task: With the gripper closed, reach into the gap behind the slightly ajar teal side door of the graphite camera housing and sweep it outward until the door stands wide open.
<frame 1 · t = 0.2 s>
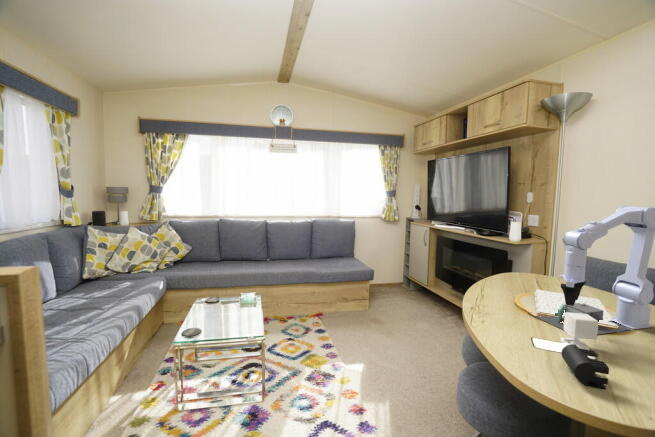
hand: (571, 302, 110), 10 cm above the table, tool pointing down, fingers open, 7 cm apart
smartphone: (561, 349, 97), on the table
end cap: (582, 377, 83), on the table
security camera: (576, 346, 99), on the table
mat: (576, 321, 116), on the table
side door: (559, 312, 118), point 3 cm above the table, hinge at 60.0°
housing: (582, 320, 117), resting on mat
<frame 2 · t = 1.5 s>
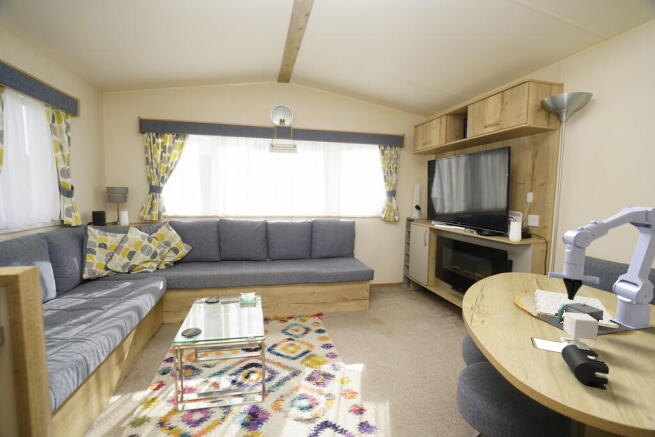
hand: (570, 299, 113), 10 cm above the table, tool pointing down, fingers closed
nothing on the table moved.
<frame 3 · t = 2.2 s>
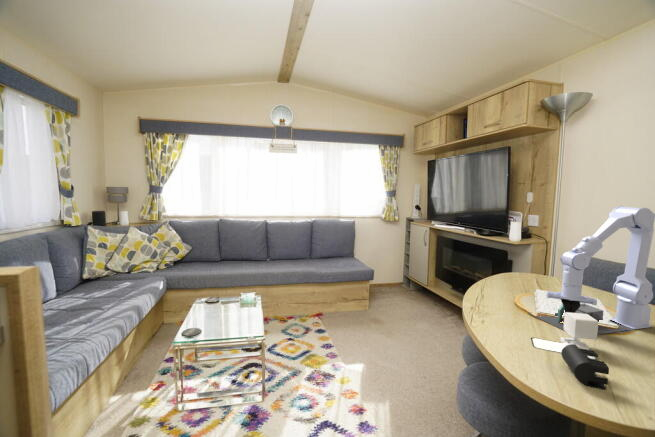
hand: (568, 319, 114), 2 cm above the table, tool pointing down, fingers closed
nothing on the table moved.
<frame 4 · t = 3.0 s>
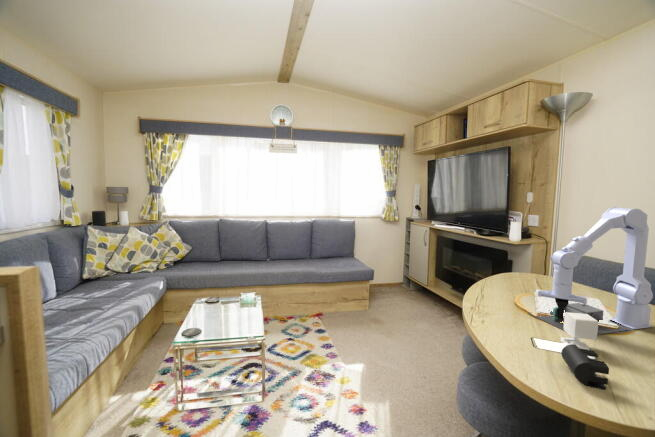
hand: (559, 317, 116), 2 cm above the table, tool pointing down, fingers closed, pressing on side door
side door: (557, 312, 118), point 3 cm above the table, hinge at 71.1°, touching gripper
everything else where it was.
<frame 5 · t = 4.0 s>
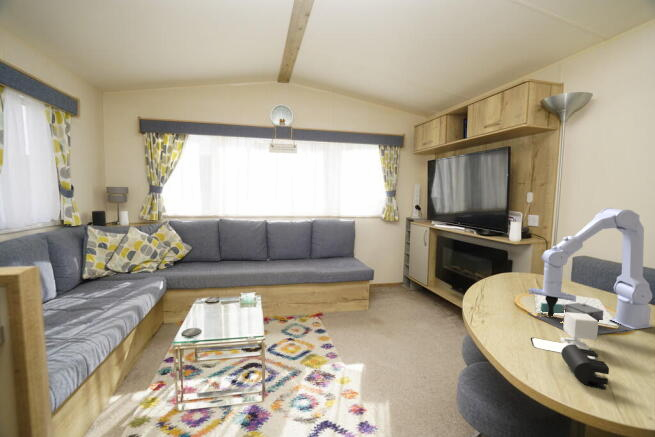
hand: (550, 315, 119), 1 cm above the table, tool pointing down, fingers closed, pressing on side door
side door: (551, 309, 121), point 3 cm above the table, hinge at 111.4°, touching gripper
everything else where it was.
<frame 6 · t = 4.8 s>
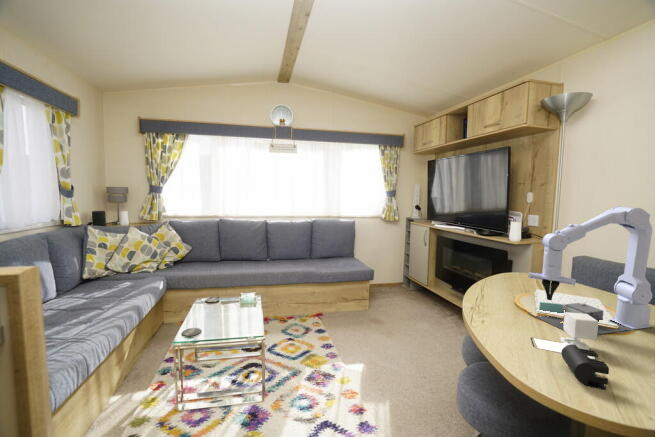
hand: (549, 299, 118), 8 cm above the table, tool pointing down, fingers closed
side door: (551, 308, 121), point 3 cm above the table, hinge at 119.2°
everything else where it was.
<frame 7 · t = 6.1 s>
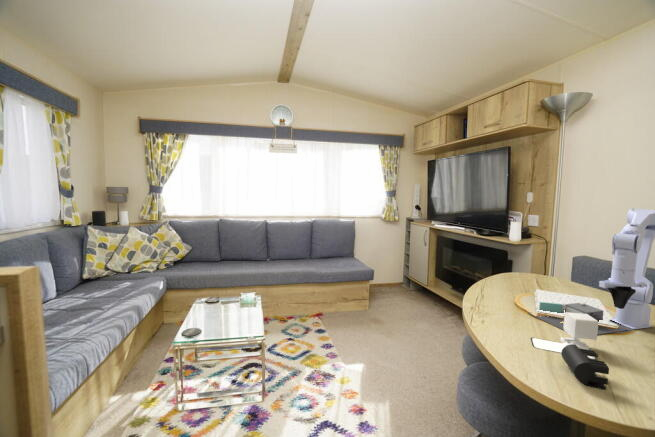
hand: (619, 307, 105), 10 cm above the table, tool pointing down, fingers closed
side door: (551, 308, 121), point 3 cm above the table, hinge at 119.5°
everything else where it was.
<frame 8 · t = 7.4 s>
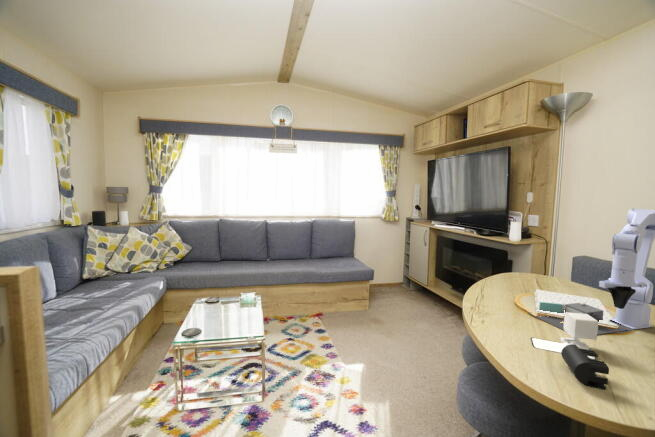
hand: (619, 307, 105), 10 cm above the table, tool pointing down, fingers closed
nothing on the table moved.
at the end: side door at +120° (first picture: +60°) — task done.
